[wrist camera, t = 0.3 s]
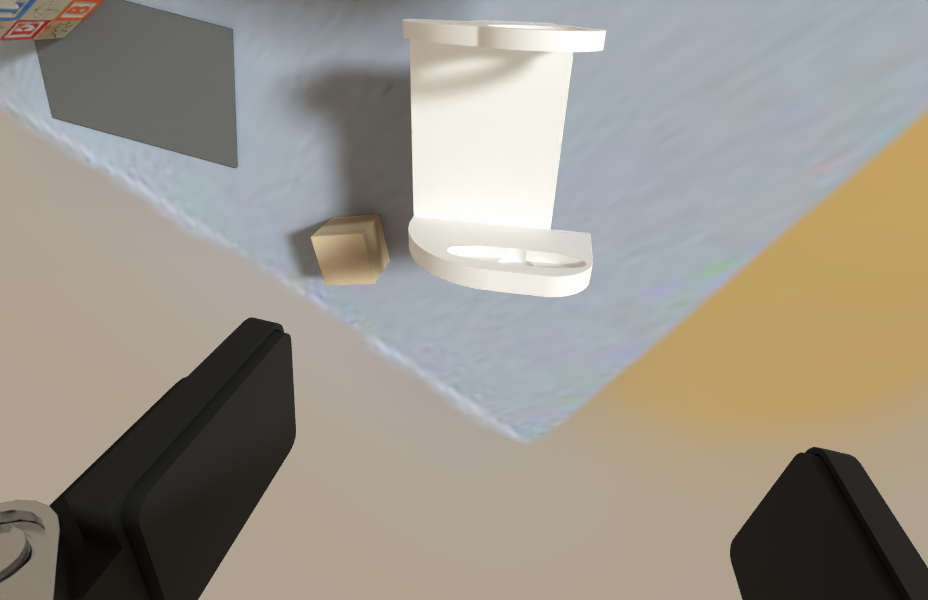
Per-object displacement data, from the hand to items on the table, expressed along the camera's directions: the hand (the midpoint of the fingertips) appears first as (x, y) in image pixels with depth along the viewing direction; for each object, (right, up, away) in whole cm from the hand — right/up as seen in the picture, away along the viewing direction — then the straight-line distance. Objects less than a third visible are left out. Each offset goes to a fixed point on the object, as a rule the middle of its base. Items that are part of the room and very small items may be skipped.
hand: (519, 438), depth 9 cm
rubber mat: (-31, +23, +36) cm, 52 cm away
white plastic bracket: (+3, +18, +32) cm, 37 cm away
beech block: (-11, +9, +40) cm, 43 cm away
